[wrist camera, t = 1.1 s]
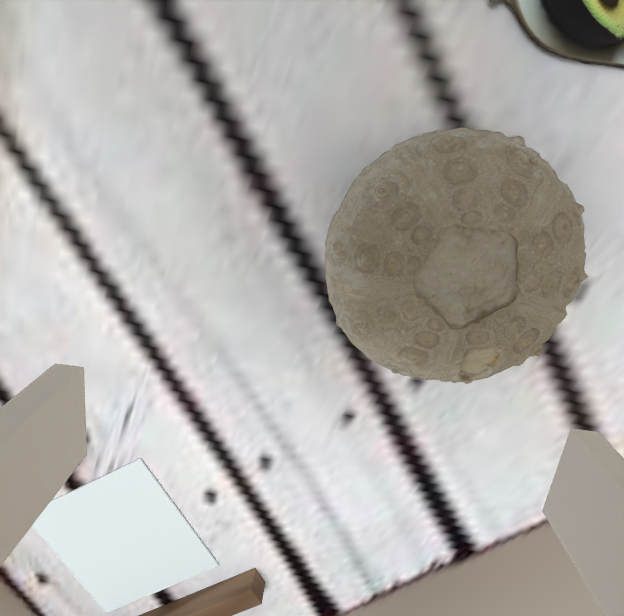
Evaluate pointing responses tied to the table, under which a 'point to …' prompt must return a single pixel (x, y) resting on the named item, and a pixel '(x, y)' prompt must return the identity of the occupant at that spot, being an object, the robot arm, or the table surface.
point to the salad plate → (576, 28)
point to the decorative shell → (454, 255)
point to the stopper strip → (218, 598)
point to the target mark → (123, 537)
